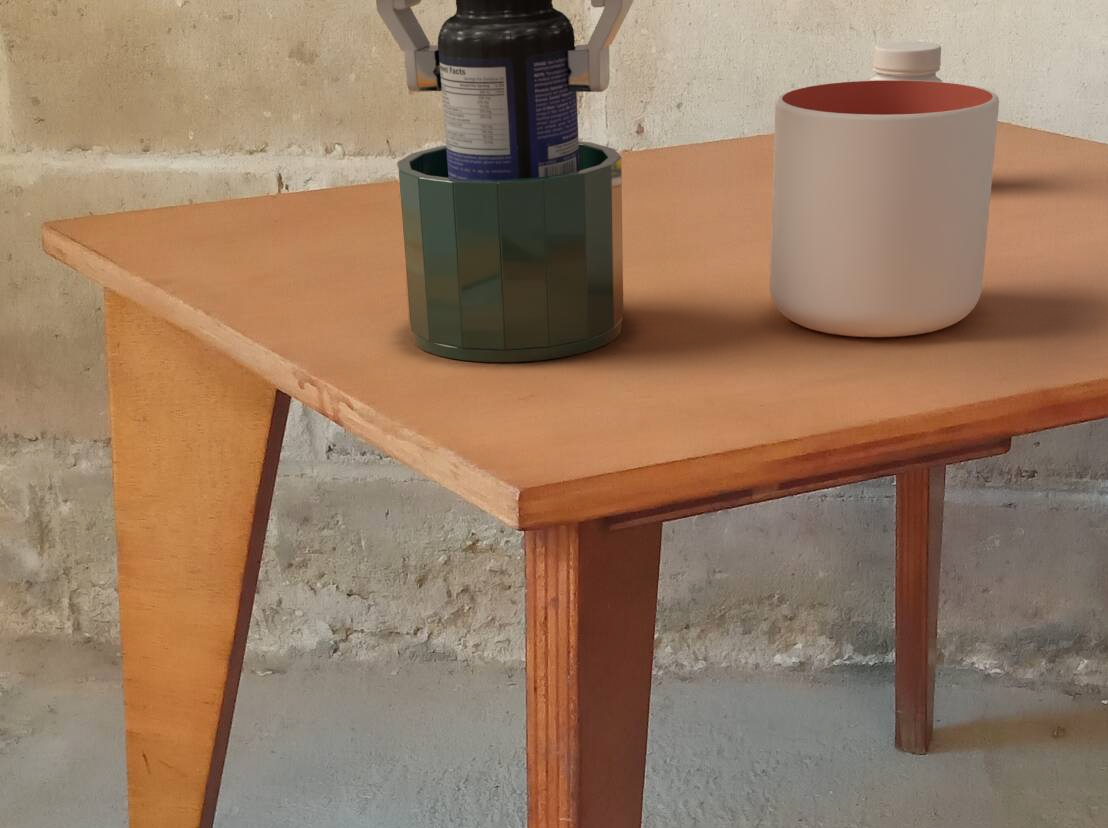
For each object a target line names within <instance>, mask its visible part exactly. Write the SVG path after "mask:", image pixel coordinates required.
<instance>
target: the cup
mask: <svg viewBox="0 0 1108 828" xmlns="http://www.w3.org/2000/svg"><path fill="white" fill-rule="evenodd" d="M774 103H775V104H774V130H773V131H774V132H773V135H774V137H773V164H772V165H773V167H772V168H773V169H772V170H773V171H772V197H771V198H772V199H771V200H772V201H771V228H770V229H771V230H770V232H771V235H770V236H771V237H770V262H769V263H770V264H769V265H770V266H769V270H770V271H769V293H770V297H771V300H772V302H773V303H774V305H775V307H776V308H777V310H778V311H779V312H780V314H782V315H783V317H785V318H786V319H788V320H789V321H790V322H793V323H795V324H797V325H799V326H802V327H804V328H807V329H809V330H813V331H816V332H820V333H825V334H831V335H836V336H837V335H838V336H846V337H857V338H858V337H859V338H895V337H906V336H907V337H908V336H916V335H922V334H927V333H928V334H929V333H932V332H936V331H939V330H942V329H946V328H948V327H950V326H953V325H955V324H956V323H958V322H960V321H961V320H963V319H965V318H966V317H967V316H968V315H969V314H970V313H971V312H972V311H973V310H974V309H975V307H976V306H977V304H978V302H979V300H980V298H981V295H982V290H983V280H984V271H985V260H986V259H985V258H986V249H987V238H988V227H989V215H990V207H991V206H990V205H991V194H992V184H993V183H992V182H993V174H994V173H993V172H994V163H995V152H996V151H995V150H996V141H997V140H996V139H997V130H998V129H997V128H998V120H999V119H998V118H999V109H1000V99H999V96H998V95H997V94H996V93H995V92H993V91H991V90H990V89H989V90H988V89H986V88H982V87H978V86H975V85H970V84H962V83H957V82H956V83H955V82H948V81H947V82H946V81H942V82H935V81H917V80H870V79H868V80H851V81H838V82H829V83H821V84H815V85H807V86H802V87H799V88H794V89H790V90H788V91H786V92H783V93H782V94H780V95H778V97H776V99H775V102H774Z"/></svg>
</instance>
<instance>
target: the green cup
mask: <svg viewBox="0 0 1108 828" xmlns="http://www.w3.org/2000/svg"><path fill="white" fill-rule="evenodd" d="M578 141H579V166H580V171H577V172H571V173H565V174H558V175H551V176H545V177H537V178H521V179H505V180H478V179H454V178H449V175H448V163H447V150H446V144H445V145H444V144H443V145H439V146H435V147H431V148H428V149H427V148H426V149H424V150H419V151H416V152H412V153H410V154H409V155H407V156H405V157H403V158H401V159H400V160H398V161H397V162H396V171H397V183H398V199H399V210H400V223H401V226H400V227H401V236H402V238H401V239H402V249H403V250H402V251H403V263H404V265H403V266H404V276H405V277H404V278H405V288H406V289H405V290H406V304H407V315H408V324H409V333H410V339H411V342H412V343H413V344H414V345H415V346H416V347H418V348H419V349H421V350H423V351H424V352H427V353H430V354H433V355H436V356H439V357H443V358H446V359H447V358H448V359H452V360H453V359H454V360H460V361H468V362H479V363H523V362H525V363H526V362H527V363H528V362H537V361H548V360H554V359H559V358H561V359H562V358H566V357H571V356H575V355H579V354H583V353H586V352H590V351H593V350H596V349H598V348H601V347H603V346H605V345H607V344H609V343H611V342H612V341H615V340H616V339H617V338H618V337H619V335H620V334H621V332H622V327H623V322H622V321H623V318H624V256H623V255H624V254H623V253H624V252H623V251H624V250H623V246H624V245H623V184H622V183H623V181H622V179H623V177H622V176H623V175H622V174H623V173H622V171H623V169H622V156H621V155H620V154H619V152H618V151H617V150H616V149H615V148H612V147H609V146H605V145H603V144H598V143H594V142H591V141H582V140H581V141H580V140H578Z"/></svg>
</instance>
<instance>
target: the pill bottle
mask: <svg viewBox="0 0 1108 828" xmlns="http://www.w3.org/2000/svg"><path fill="white" fill-rule="evenodd" d="M455 6H456V7H455V8H456V11H455V13H454V15H452V16H450V17H449V18H447V19H446V20H445V21H444V22H443V24H442V25H441V26H440V30H439V32H438V37H437V46H438V51H439V61H440V75H441V87H442V91H441V98H442V110H443V124H444V135H445V137H444V138H445V145H446V150H447V163H448V175H449V178H454V179H478V180H505V179H521V178H537V177H545V176H551V175H558V174H565V173H571V172H577V171H580V166H579V141H580V140H579V122H578V121H579V120H578V119H579V118H578V99H577V96H578V95H577V92H574V91H570V89H569V81H568V77H569V75H570V74H571V70H570V69H569V67H568V50H569V49H571V48H574V47H575V46H576V45H575V43H576V41H575V38H576V37H575V29H574V27H573V24H572V23H571V21H570V18H569V17H567V15H565V14H564V12H562V11H560V10H558V9H556V8H554V5H553V0H455Z"/></svg>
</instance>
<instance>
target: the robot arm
mask: <svg viewBox="0 0 1108 828" xmlns="http://www.w3.org/2000/svg"><path fill="white" fill-rule="evenodd" d="M375 2H376V3H375V4H376V11H377V13H378V15H379V16H380V18H381V20H382V21H383V23H384V24H385V26H386V27H387V29H388V32H390V34H391V36H392V38H393V39H394V40H395V42H396V44H397V45H398V47H399V49H400V51H401V52H403V53H404V65H405V75H406V76H405V77H406V85H407V88H408V91H409V92H413V93H420V92H421V93H422V92H423V93H424V92H442V87H441V75H440V61H439V51H438V44H437V45H435V44H432V45H431V43H430V41H429V39H428V37H427V34H426V33H425V31H424V30H423V28H422V26H421V24H420V23H419V20H418V18H417V17H416V14H415V13H414V12H413V10H412V7H414V6H417V5H419V4H420V3H422V0H375ZM633 3H634V0H590V5H591V6H592V7H593V8H603V10H602V13H601V15H600V17H599V19H598V21H597V23H596V26H595V27H594V29H593V31H592V33H591V35H590V38H589V40H588V43H587V44H576V45H575V47H574V48H571V49H569V50H568V67H569V69H570V70H571V74H570V75H569V77H568V81H569V89H570V91H574V92H576V93H577V92H580V93H602V92H604V91H606V90H607V89H608V88H609V85H610V80H611V79H610V77H611V75H610V45H612V44H613V42H614V41H615V38H616V37H617V34H618V33H619V31H620V29H621V27H622V25H623V23H624V21H625V19H626V17H627V15H628V13H629V11H630V9H631V7H632V5H633Z"/></svg>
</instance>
